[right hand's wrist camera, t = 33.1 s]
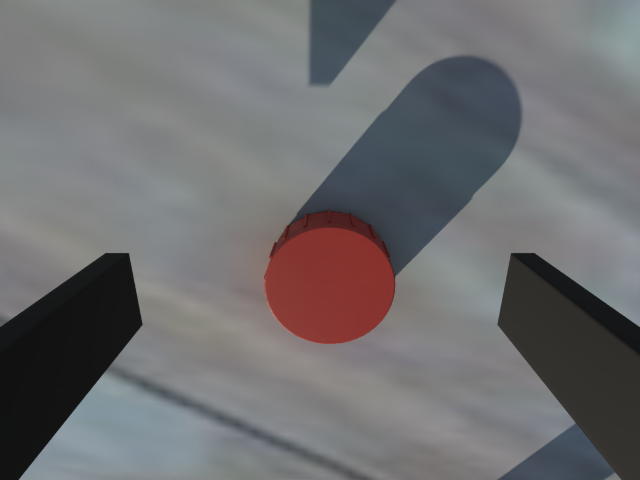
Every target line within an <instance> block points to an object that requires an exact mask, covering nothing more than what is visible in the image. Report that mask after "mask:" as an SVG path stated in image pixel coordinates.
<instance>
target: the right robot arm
mask: <svg viewBox="0 0 640 480" xmlns="http://www.w3.org/2000/svg"><path fill="white" fill-rule="evenodd" d="M142 325H143V324H142V319H141V314H140V309H139V304H138V298H137V293H136V288H135V283H134V278H133V272H132V267H131V262H130V257H129V253H105V254H104V255H102V256H101V257H99V258H98V259H97V260H95V261H94V262H92V263H91V264H90V265H88V266H87V267H85V268H84V269H82V270H81V271H80V272H78V273H77V274H75V275H74V276H72V277H71V278H70V279H68V280H67V281H65V282H64V283H62V284H61V285H60V286H58V287H57V288H55V289H54V290H52V291H51V292H50V293H48V294H47V295H45V296H44V297H43V298H41V299H40V300H38V301H37V302H35V303H34V304H33V305H31V306H30V307H28V308H27V309H25V310H24V311H23V312H21V313H20V314H18V315H17V316H15V317H14V318H13V319H11V320H10V321H8V322H7V323H5V324H4V325H3V326H1V327H0V480H19V479H20V477H21V476H22V475H23V474H24V472H25V471H26V470H27V469H28V467H29V466H30V465H31V464H32V462H33V461H34V460H35V459H36V457H37V456H38V455H39V454H40V452H41V451H42V450H43V449H44V447H45V446H46V445H47V444H48V442H49V441H50V440H51V439H52V437H53V436H54V435H55V434H56V432H57V431H58V430H59V429H60V427H61V426H62V425H63V424H64V422H65V421H66V420H67V419H68V417H69V416H70V415H71V414H72V412H73V411H74V410H75V409H76V407H77V406H78V405H79V404H80V402H81V401H82V400H83V399H84V397H85V396H86V395H87V394H88V392H89V391H90V390H91V389H92V387H93V386H94V385H95V384H96V382H97V381H98V380H99V378H100V377H101V376H102V375H103V373H104V372H105V371H106V370H107V368H108V367H109V366H110V365H111V363H112V362H113V361H114V360H115V358H116V357H117V356H118V355H119V353H120V352H121V351H122V350H123V348H124V347H125V346H126V345H127V343H128V342H129V341H130V340H131V338H132V337H133V336H134V335H135V333H136V332H137V331H138V330H139V328H140V327H141V326H142ZM498 326H499V327H500V328H501V330H502V331H503V332H504V333H505V335H506V336H507V337H508V338H509V340H510V341H511V342H512V343H513V345H514V346H515V347H516V348H517V350H518V351H519V352H520V353H521V355H522V356H523V357H524V358H525V360H526V361H527V362H528V363H529V365H530V366H531V367H532V368H533V370H534V371H535V372H536V373H537V375H538V376H539V377H540V378H541V380H542V381H543V382H544V383H545V385H546V386H547V387H548V388H549V390H550V391H551V392H552V393H553V395H554V396H555V397H556V398H557V400H558V401H559V402H560V403H561V405H562V406H563V407H564V408H565V410H566V411H567V412H568V413H569V415H570V416H571V417H572V418H573V420H574V421H575V422H576V423H577V425H578V426H579V427H580V429H581V430H582V431H583V432H584V434H585V435H586V436H587V437H588V439H589V440H590V441H591V442H592V444H593V445H594V446H595V447H596V449H597V450H598V451H599V452H600V454H601V455H602V456H603V457H604V459H605V460H606V461H607V462H608V464H609V465H610V466H611V467H612V469H613V470H614V471H615V472H616V474H617V475H618V476H619V477H620V479H621V480H640V327H639V326H637V325H636V324H635V323H633V322H632V321H630V320H629V319H627V318H626V317H625V316H623V315H622V314H620V313H619V312H617V311H616V310H615V309H613V308H612V307H610V306H609V305H607V304H606V303H605V302H603V301H602V300H600V299H599V298H598V297H596V296H595V295H593V294H592V293H590V292H589V291H588V290H586V289H585V288H583V287H582V286H580V285H579V284H578V283H576V282H575V281H573V280H572V279H570V278H569V277H568V276H566V275H565V274H563V273H562V272H560V271H559V270H558V269H556V268H555V267H553V266H552V265H551V264H549V263H548V262H546V261H545V260H543V259H542V258H541V257H539V256H538V255H536V254H535V253H511V257H510V262H509V267H508V272H507V278H506V283H505V288H504V293H503V299H502V304H501V309H500V314H499V319H498Z"/></svg>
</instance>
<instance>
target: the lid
mask: <svg viewBox="0 0 640 480" xmlns="http://www.w3.org/2000/svg"><path fill="white" fill-rule="evenodd" d="M388 257H390V255H389V253H388V250H387V248H386V246H385V244H384V241H382V242H381V240H380V239H379V237H378V235H377V234H376V233H375V232H374V230H373V228H372V226H371V225H370V224H369V225H367V224H366V223H364V222H363V221H361V220H360V219H358V218H356V217H354V216H353V214H351V213H350V215H349V214H345V213H341V212H330V210H327V212H318V213H314V214H310V215H308V214H305V217H303V218H301V219H299V220H297V221H296V222H294V223H293V224H292V225H290V226H289V225H288V226H287V227H286V229H285V231H284V233H283V234H282V235H281V236H280V238H279V240H278V242H277V243H276V242H275V243H274V246H273V248H272V251H271V254H270V256H269V258H271V260H270V263H269V265H268V268H267V271H266V274H265V277H264V279H265V294H266V299H267V302H268V305H269V307H270V309H271V311H272V313H273V314H274V316H275V317H276V319H277V320H278V321H279V322H280V323H281V324H282V325H283V326H284V327H285V328H286V329H287V330H288V331H290V332H291V333H293V334H295V335H296V336H298V337H300V338H303V339H305V340H308V341H312V342H316V343H323V344H336V343H343V342H348V341H351V340H354V339H357V338H359V337H361V336H363V335H365V334H367V333H368V332H370V331H371V330H372V329H374V328H375V327H376V326H377V325H378V324H379V323H380V322H381V321H382V320H383V318H384V317H385V316H386V314H387V312H388V310H389V309H390V307H391V304H392V301H393V298H394V293H395V274H394V272H393V268H392V266H391V263H390V261H389V258H388Z"/></svg>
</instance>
